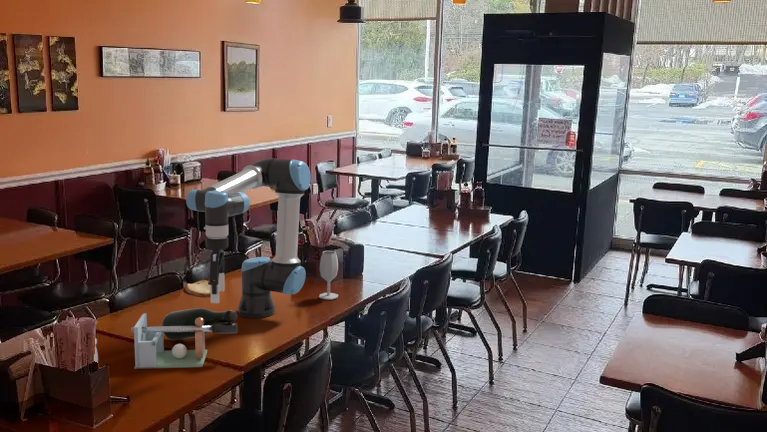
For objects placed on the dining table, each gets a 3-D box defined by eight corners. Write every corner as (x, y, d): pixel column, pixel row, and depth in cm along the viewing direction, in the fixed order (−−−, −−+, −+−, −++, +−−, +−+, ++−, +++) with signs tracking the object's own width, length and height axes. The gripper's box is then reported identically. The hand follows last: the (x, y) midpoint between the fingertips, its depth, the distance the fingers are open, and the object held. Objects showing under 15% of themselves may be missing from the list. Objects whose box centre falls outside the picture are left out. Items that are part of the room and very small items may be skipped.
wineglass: (315, 298, 305) (315, 253, 301) (324, 293, 313) (324, 249, 309) (333, 301, 302) (333, 255, 298) (341, 296, 310) (342, 251, 306)
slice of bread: (217, 298, 303) (217, 290, 302) (177, 296, 304) (177, 288, 303) (227, 286, 321) (227, 278, 320) (190, 285, 321) (189, 277, 321)
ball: (188, 354, 238) (187, 341, 237) (185, 360, 233) (185, 346, 232) (173, 355, 237) (173, 341, 236) (170, 361, 232) (170, 347, 231)
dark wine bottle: (156, 321, 247) (218, 310, 229) (175, 307, 256) (237, 295, 238) (168, 346, 250) (231, 336, 232) (188, 331, 258) (249, 321, 240)
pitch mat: (207, 350, 243) (207, 349, 243) (202, 366, 230) (202, 365, 229) (143, 352, 240) (143, 351, 240) (134, 368, 227) (134, 367, 227)
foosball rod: (238, 350, 240) (237, 314, 238) (236, 357, 235) (236, 320, 232) (134, 352, 236) (133, 315, 233) (130, 359, 230) (129, 321, 227)
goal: (164, 351, 241) (162, 313, 238) (156, 368, 228) (154, 327, 225) (144, 352, 240) (143, 313, 238) (135, 368, 227) (133, 327, 224)
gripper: (211, 229, 243) (211, 286, 247) (199, 244, 219) (200, 308, 223) (232, 229, 244) (233, 286, 248) (223, 245, 219) (224, 308, 223)
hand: (217, 296), depth 235 cm, fingers open, 13 cm apart
